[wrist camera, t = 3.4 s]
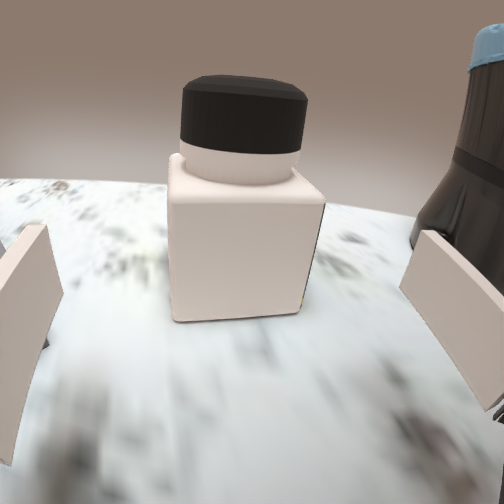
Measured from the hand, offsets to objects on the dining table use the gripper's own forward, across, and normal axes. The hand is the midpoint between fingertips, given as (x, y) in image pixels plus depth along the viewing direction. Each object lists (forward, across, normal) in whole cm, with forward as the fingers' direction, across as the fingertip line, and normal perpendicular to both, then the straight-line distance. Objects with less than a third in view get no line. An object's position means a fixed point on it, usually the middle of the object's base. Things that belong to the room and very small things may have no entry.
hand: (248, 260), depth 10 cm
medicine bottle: (+7, 0, -7) cm, 10 cm away
